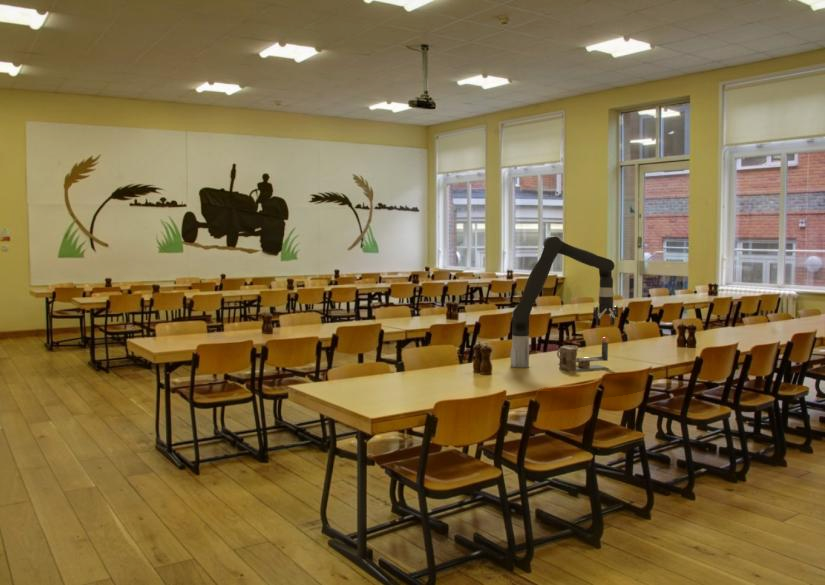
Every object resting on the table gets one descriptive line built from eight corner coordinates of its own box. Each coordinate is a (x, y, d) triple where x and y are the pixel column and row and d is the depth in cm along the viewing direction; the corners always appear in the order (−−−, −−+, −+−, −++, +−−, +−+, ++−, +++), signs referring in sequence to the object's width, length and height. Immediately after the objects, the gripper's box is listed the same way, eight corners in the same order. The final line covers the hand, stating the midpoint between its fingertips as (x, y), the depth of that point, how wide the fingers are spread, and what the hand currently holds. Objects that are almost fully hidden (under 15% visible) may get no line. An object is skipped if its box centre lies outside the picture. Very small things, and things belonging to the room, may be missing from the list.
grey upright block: (569, 371, 383) (569, 349, 382) (559, 368, 392) (559, 346, 391) (575, 371, 384) (576, 348, 383) (566, 368, 393) (566, 346, 393)
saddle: (583, 369, 388) (583, 360, 388) (578, 368, 393) (578, 359, 393) (589, 369, 389) (589, 360, 389) (584, 367, 394) (584, 358, 394)
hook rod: (575, 363, 387) (576, 338, 386) (571, 362, 391) (572, 338, 390) (609, 360, 394) (610, 337, 393) (605, 359, 397) (606, 336, 396)
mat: (569, 371, 382) (569, 370, 382) (559, 368, 393) (559, 367, 393) (608, 369, 390) (608, 368, 390) (597, 365, 400) (597, 364, 400)
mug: (573, 365, 401) (574, 347, 400) (553, 363, 409) (553, 345, 408) (580, 363, 408) (580, 346, 407) (559, 361, 415) (559, 344, 415)
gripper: (598, 296, 387) (597, 326, 388) (621, 295, 391) (620, 325, 392) (590, 295, 394) (590, 325, 395) (613, 294, 398) (612, 324, 400)
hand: (605, 325), depth 394 cm, fingers open, 8 cm apart
